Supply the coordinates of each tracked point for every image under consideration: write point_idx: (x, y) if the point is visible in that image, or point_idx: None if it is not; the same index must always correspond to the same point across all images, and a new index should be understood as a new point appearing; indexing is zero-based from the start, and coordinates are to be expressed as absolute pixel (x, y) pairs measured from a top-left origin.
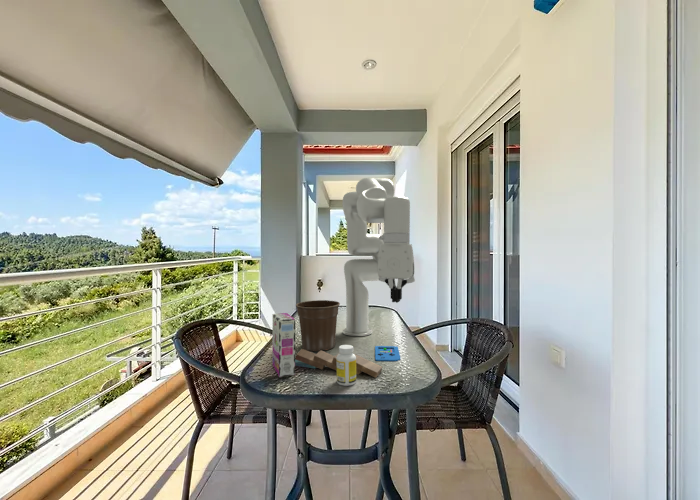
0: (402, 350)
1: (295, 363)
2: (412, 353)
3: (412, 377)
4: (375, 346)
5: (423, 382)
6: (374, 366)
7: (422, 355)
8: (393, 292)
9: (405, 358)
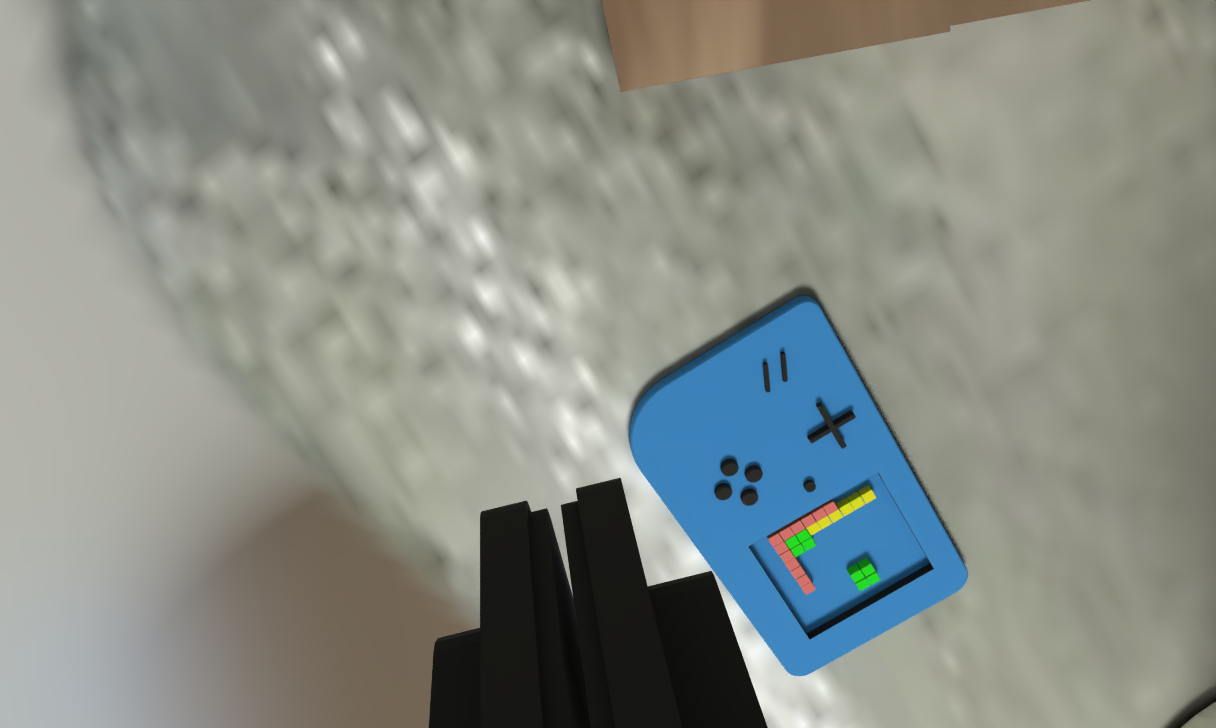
0: None
1: None
2: None
3: (308, 133)
4: (964, 572)
5: (157, 83)
6: (672, 3)
7: None
8: (614, 655)
9: None
